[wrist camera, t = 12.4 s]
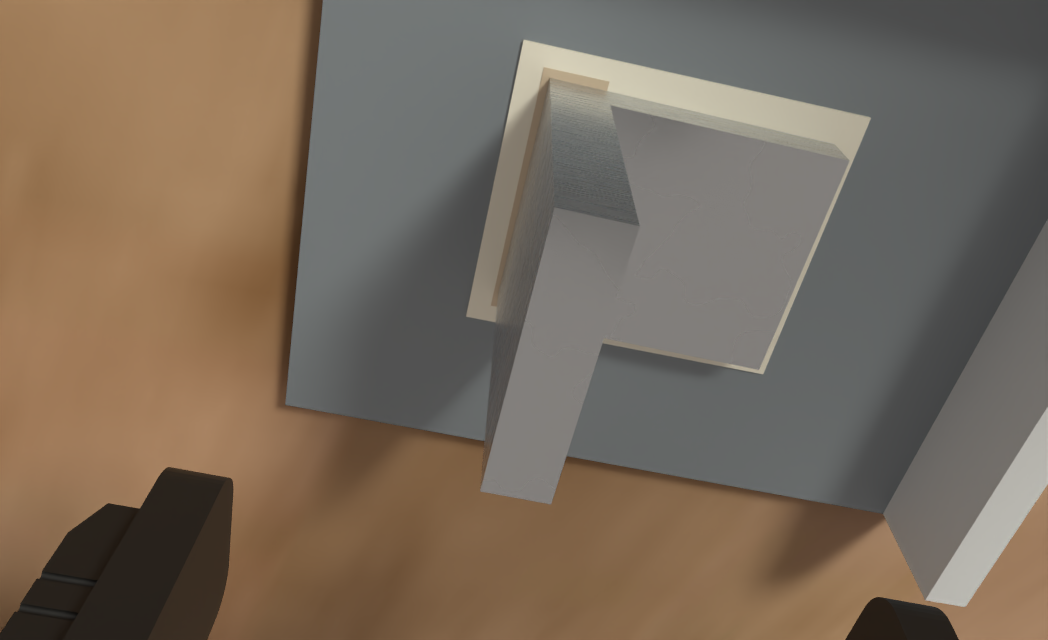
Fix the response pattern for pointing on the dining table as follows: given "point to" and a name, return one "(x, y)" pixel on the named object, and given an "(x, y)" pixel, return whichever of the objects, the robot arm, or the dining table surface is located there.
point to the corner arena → (820, 293)
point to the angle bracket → (640, 258)
